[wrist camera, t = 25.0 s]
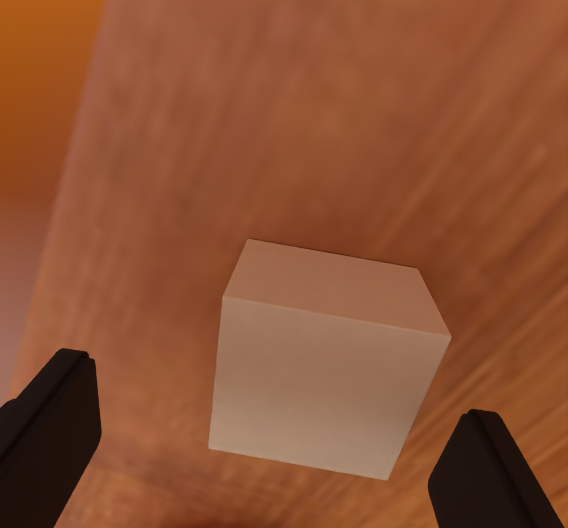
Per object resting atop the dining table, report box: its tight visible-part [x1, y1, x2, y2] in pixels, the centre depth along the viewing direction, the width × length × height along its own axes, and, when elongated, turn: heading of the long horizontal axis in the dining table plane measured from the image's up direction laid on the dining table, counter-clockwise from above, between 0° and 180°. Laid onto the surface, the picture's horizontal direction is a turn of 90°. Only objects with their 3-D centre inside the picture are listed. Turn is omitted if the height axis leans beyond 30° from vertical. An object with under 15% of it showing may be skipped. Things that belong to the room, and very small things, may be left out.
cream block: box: [208, 239, 452, 480], centre depth 12 cm, size 6×6×4 cm
